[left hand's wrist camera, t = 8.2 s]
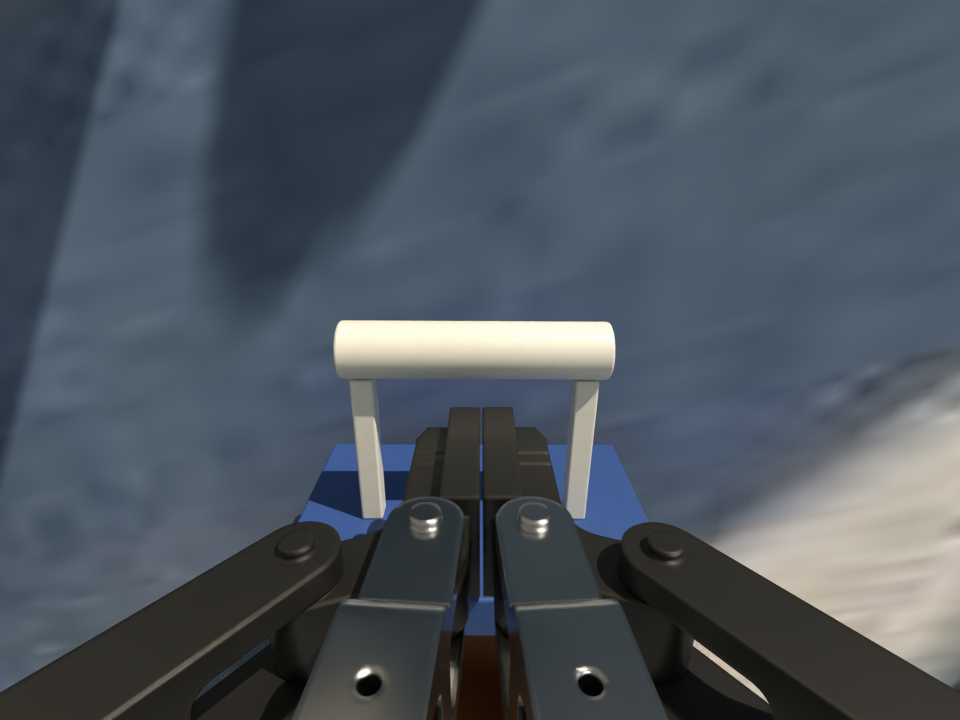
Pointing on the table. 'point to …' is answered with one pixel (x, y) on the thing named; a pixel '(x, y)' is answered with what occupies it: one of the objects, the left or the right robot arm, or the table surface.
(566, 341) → the drawer
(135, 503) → the table surface
